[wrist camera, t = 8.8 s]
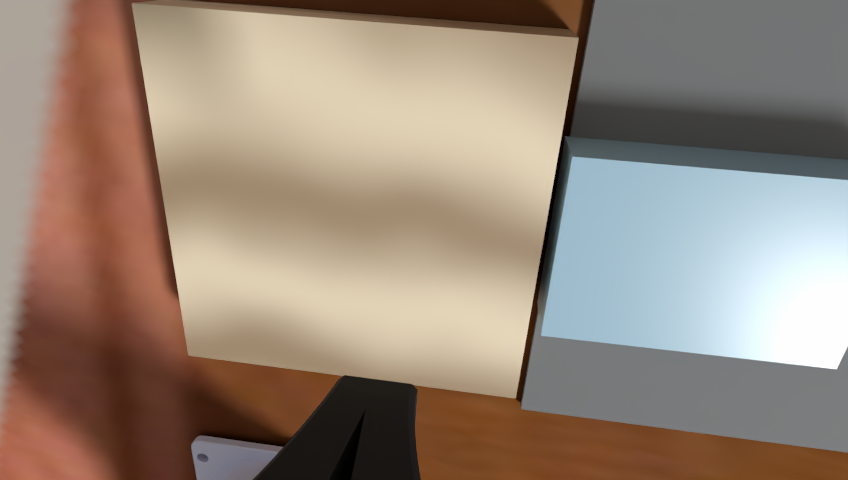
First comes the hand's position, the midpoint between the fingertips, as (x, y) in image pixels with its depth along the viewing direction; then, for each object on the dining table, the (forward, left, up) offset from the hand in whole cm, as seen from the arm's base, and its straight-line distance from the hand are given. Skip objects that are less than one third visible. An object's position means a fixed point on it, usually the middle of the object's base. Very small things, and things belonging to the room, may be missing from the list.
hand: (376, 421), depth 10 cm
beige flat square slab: (0, +3, -10) cm, 10 cm away
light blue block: (0, -8, -10) cm, 13 cm away
